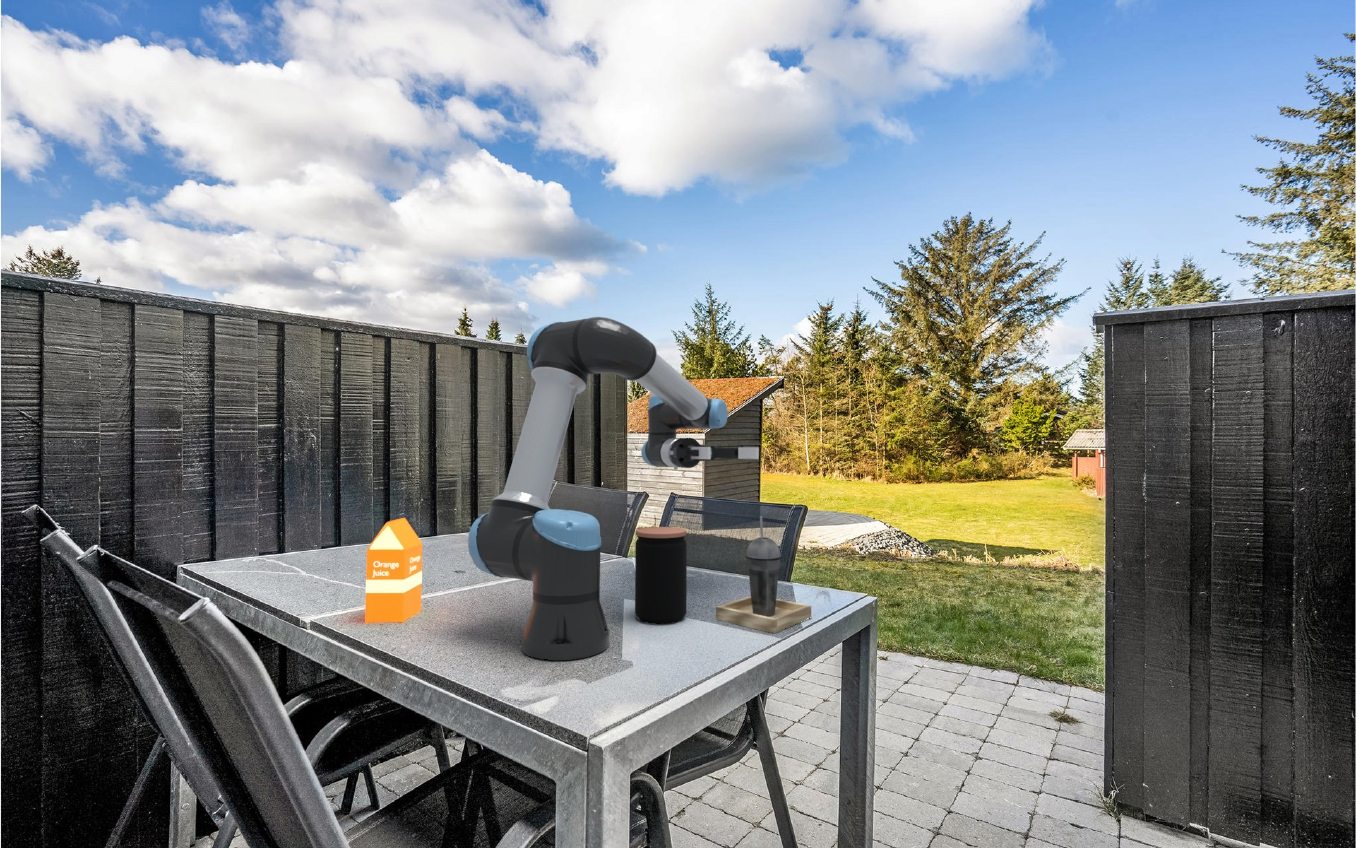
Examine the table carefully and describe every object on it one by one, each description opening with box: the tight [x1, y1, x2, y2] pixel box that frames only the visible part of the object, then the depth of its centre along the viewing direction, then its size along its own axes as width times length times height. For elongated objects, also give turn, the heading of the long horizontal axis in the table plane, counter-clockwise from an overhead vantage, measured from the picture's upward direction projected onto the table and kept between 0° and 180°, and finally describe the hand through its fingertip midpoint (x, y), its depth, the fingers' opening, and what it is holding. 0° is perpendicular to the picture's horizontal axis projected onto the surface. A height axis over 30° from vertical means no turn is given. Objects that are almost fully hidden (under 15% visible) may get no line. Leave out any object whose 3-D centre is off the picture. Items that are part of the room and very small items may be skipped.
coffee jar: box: [634, 526, 688, 625], centre depth 121 cm, size 11×11×18 cm
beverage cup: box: [745, 515, 782, 617], centre depth 120 cm, size 7×7×20 cm
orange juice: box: [364, 517, 423, 624], centre depth 121 cm, size 8×9×20 cm
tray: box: [715, 595, 812, 634], centre depth 120 cm, size 14×14×2 cm
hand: (734, 453), depth 130 cm, fingers open, 13 cm apart
